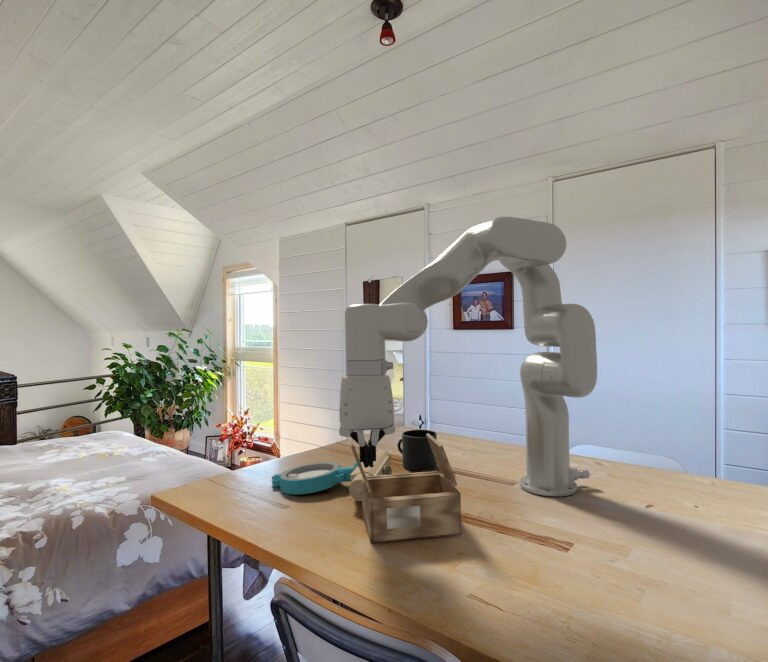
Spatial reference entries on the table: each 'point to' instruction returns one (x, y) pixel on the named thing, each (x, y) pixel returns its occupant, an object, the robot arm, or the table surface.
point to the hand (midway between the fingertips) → (368, 465)
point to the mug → (417, 450)
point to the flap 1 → (360, 465)
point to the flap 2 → (441, 459)
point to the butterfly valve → (330, 476)
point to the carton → (410, 506)
